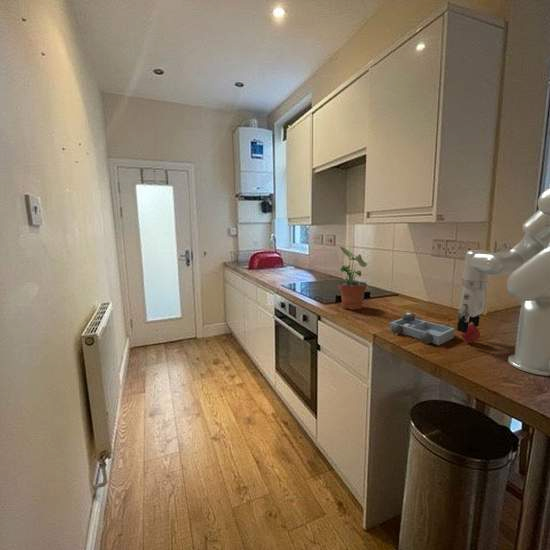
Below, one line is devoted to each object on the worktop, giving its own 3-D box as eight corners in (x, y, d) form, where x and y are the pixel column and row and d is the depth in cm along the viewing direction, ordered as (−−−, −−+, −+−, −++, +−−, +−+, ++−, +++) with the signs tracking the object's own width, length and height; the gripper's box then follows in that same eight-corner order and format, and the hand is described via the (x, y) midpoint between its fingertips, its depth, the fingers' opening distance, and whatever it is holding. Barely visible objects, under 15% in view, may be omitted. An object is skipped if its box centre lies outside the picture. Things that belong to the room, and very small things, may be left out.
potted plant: (337, 311, 156) (338, 243, 150) (338, 303, 171) (339, 241, 165) (368, 313, 153) (371, 243, 147) (367, 305, 167) (369, 241, 161)
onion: (470, 347, 110) (472, 326, 109) (456, 341, 115) (458, 321, 114) (482, 345, 112) (484, 324, 110) (468, 339, 117) (470, 319, 116)
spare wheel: (417, 319, 126) (417, 313, 126) (411, 321, 123) (411, 316, 123) (406, 316, 130) (406, 311, 130) (400, 318, 127) (400, 313, 127)
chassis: (456, 336, 120) (457, 326, 120) (435, 347, 110) (436, 336, 110) (408, 323, 136) (409, 315, 135) (386, 332, 126) (387, 322, 126)
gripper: (475, 290, 102) (468, 337, 106) (495, 282, 112) (488, 326, 116) (452, 285, 108) (446, 330, 112) (472, 279, 118) (466, 320, 122)
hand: (467, 328), depth 114 cm, fingers open, 9 cm apart
